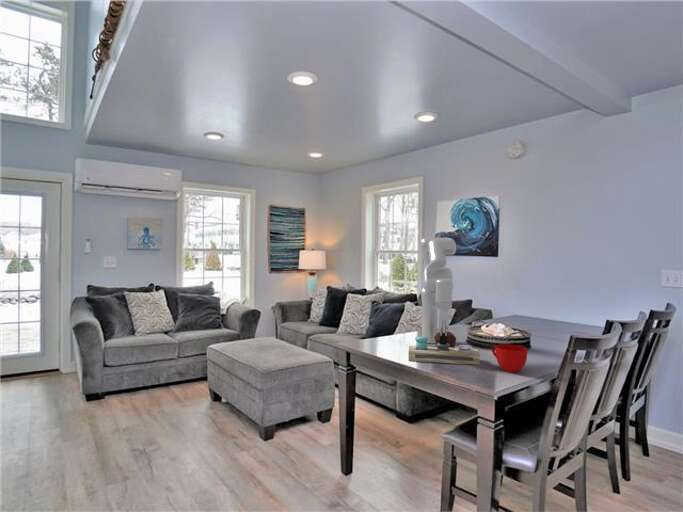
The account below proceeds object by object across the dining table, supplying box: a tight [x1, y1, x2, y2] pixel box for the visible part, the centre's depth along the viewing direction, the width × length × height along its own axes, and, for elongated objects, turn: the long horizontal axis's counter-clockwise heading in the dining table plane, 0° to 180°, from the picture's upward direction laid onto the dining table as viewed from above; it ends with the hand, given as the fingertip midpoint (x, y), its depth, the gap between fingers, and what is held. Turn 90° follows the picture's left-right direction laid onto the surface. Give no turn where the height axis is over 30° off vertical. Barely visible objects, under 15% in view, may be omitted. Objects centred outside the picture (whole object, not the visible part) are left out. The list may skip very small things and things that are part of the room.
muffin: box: [434, 330, 457, 348], centre depth 218 cm, size 12×11×10 cm
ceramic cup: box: [491, 343, 528, 373], centre depth 184 cm, size 13×17×10 cm
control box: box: [408, 345, 481, 366], centre depth 199 cm, size 10×32×5 cm, turn 79°
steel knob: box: [457, 344, 473, 352], centre depth 197 cm, size 6×6×6 cm
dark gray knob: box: [437, 343, 450, 351], centre depth 199 cm, size 6×6×6 cm
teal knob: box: [414, 335, 428, 350], centre depth 201 cm, size 6×6×6 cm
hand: (443, 343), depth 198 cm, fingers closed
